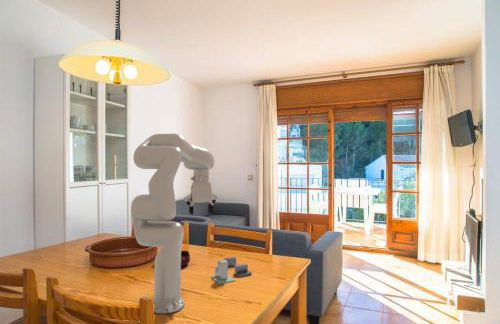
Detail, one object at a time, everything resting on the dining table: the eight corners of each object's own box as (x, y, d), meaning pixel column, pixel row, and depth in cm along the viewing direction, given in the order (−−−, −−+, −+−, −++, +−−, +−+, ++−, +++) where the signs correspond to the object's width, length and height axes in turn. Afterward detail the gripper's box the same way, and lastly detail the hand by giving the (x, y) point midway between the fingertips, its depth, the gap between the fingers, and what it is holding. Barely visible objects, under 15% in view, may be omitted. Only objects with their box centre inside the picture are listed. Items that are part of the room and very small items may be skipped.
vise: (251, 274, 146) (251, 266, 146) (238, 277, 142) (238, 268, 142) (232, 262, 164) (232, 254, 164) (220, 264, 161) (220, 256, 161)
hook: (227, 279, 139) (227, 261, 139) (220, 280, 137) (220, 262, 137) (221, 273, 146) (221, 257, 146) (214, 275, 144) (214, 258, 144)
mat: (234, 280, 138) (234, 280, 138) (218, 284, 134) (218, 283, 134) (226, 274, 146) (226, 273, 146) (211, 277, 142) (211, 276, 142)
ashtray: (200, 262, 164) (200, 253, 164) (178, 271, 150) (178, 261, 150) (175, 256, 173) (175, 248, 173) (153, 265, 159) (153, 255, 159)
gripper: (186, 180, 144) (186, 216, 144) (220, 179, 153) (219, 213, 152) (182, 179, 151) (181, 213, 150) (214, 178, 159) (214, 211, 159)
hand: (200, 213), depth 151 cm, fingers open, 9 cm apart
